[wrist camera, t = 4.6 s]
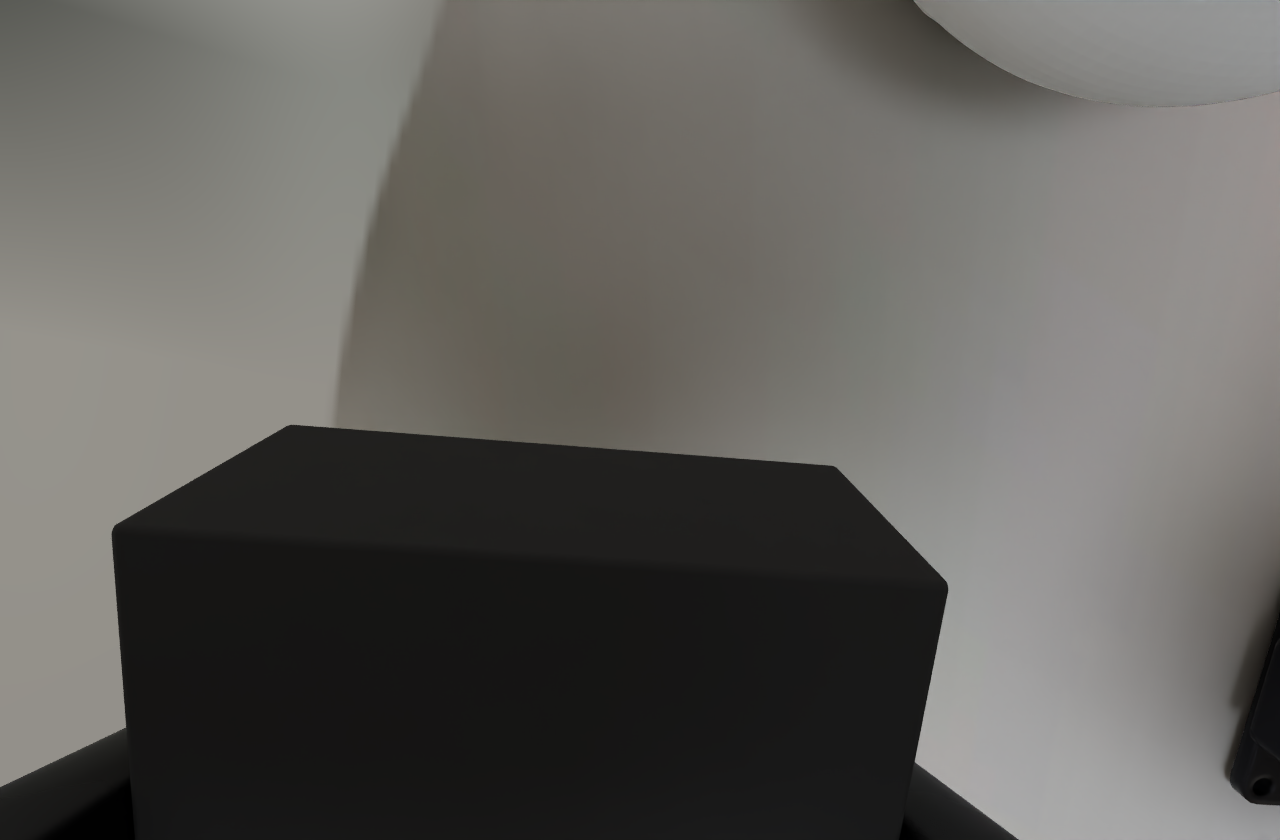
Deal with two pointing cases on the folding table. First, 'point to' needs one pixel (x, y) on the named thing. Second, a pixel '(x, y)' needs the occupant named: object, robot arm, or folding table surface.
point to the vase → (1126, 46)
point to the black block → (518, 646)
